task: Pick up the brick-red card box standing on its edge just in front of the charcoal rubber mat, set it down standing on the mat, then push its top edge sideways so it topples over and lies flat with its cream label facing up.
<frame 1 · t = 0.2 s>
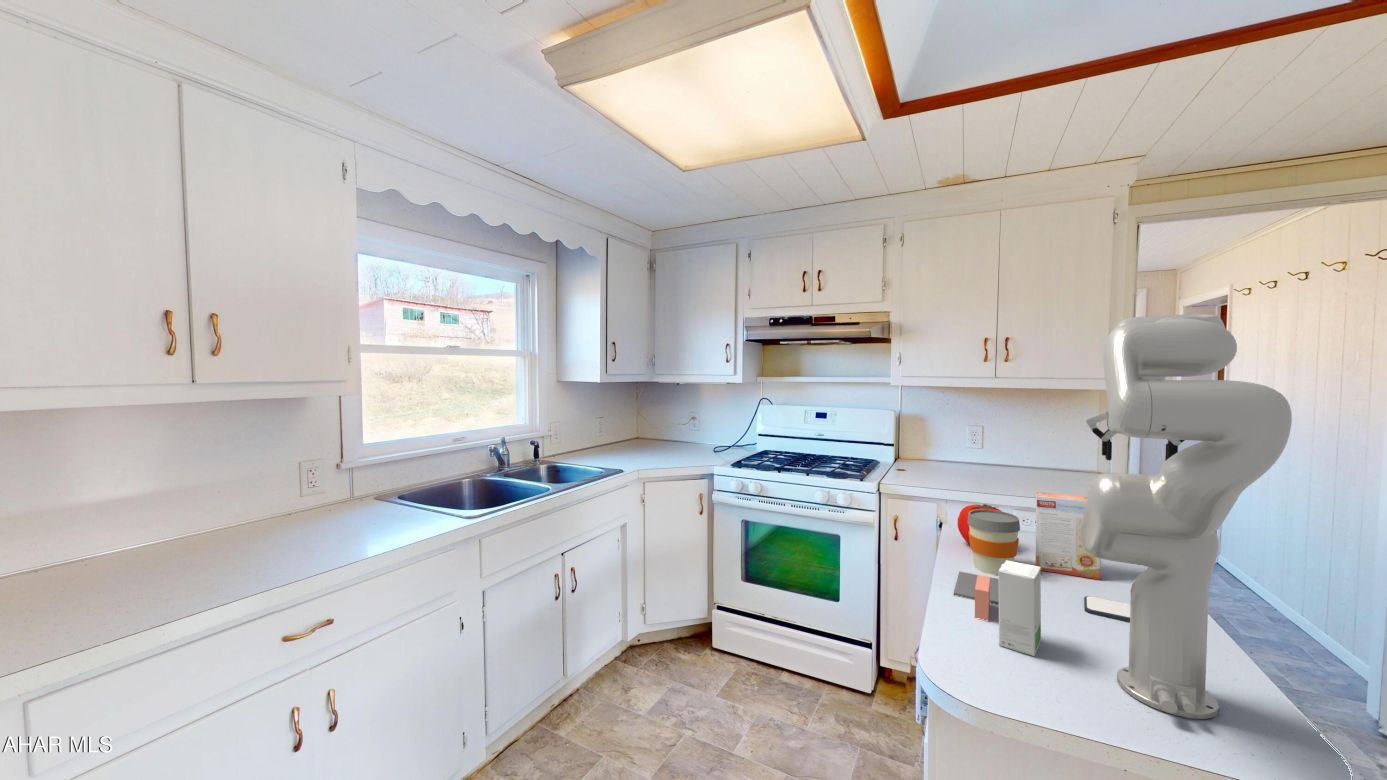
hand: (1138, 461, 104), 36 cm above the table, tool pointing down, fingers open, 9 cm apart
mat: (990, 590, 125), on the table
reusable coffee cup: (992, 569, 138), on the table
cracker box: (1066, 572, 136), on the table
skincare box: (1018, 643, 102), on the table
card box: (982, 611, 115), on the table
tomato: (982, 547, 155), on the table
smartphone: (1129, 617, 112), on the table
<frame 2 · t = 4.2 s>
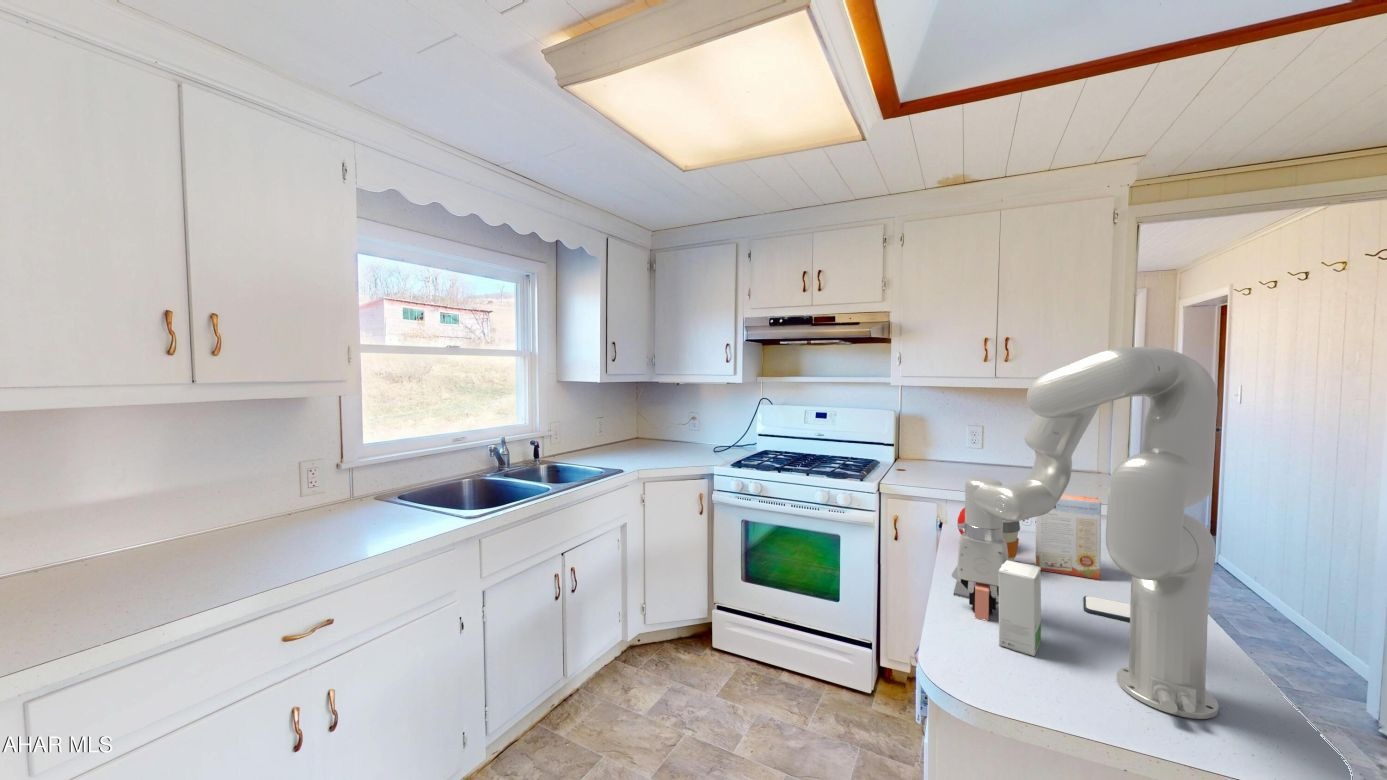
hand: (982, 609, 115), 0 cm above the table, tool pointing down, fingers closed on card box, 2 cm apart
card box: (982, 611, 115), on the table, touching gripper
everything else where it was.
when the fingers open (2 cm above the table, at t = 8.8 s): card box stays where it is, resting on mat.
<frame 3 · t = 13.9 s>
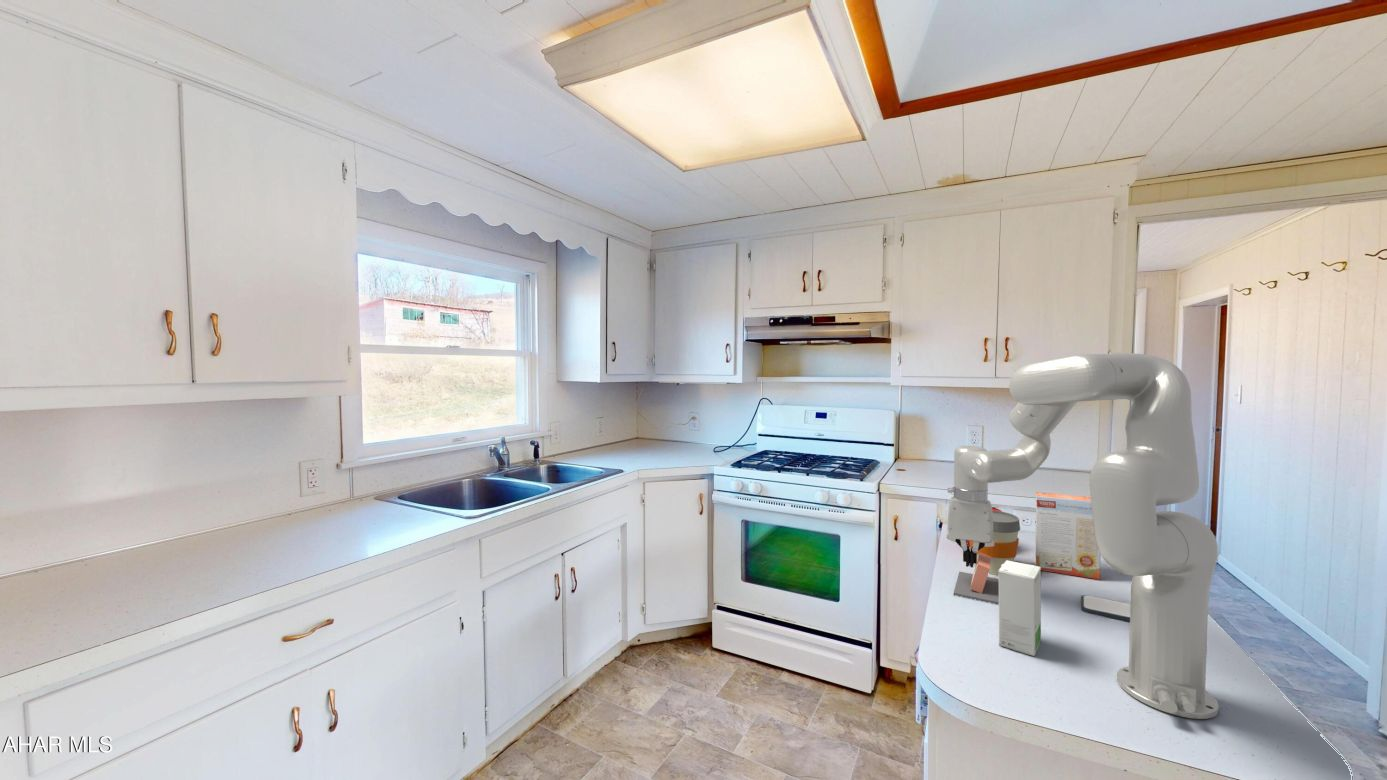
hand: (969, 565, 127), 6 cm above the table, tool pointing down, fingers closed
card box: (977, 584, 126), point 1 cm above the table, tilted 14°, touching mat
everything else where it was.
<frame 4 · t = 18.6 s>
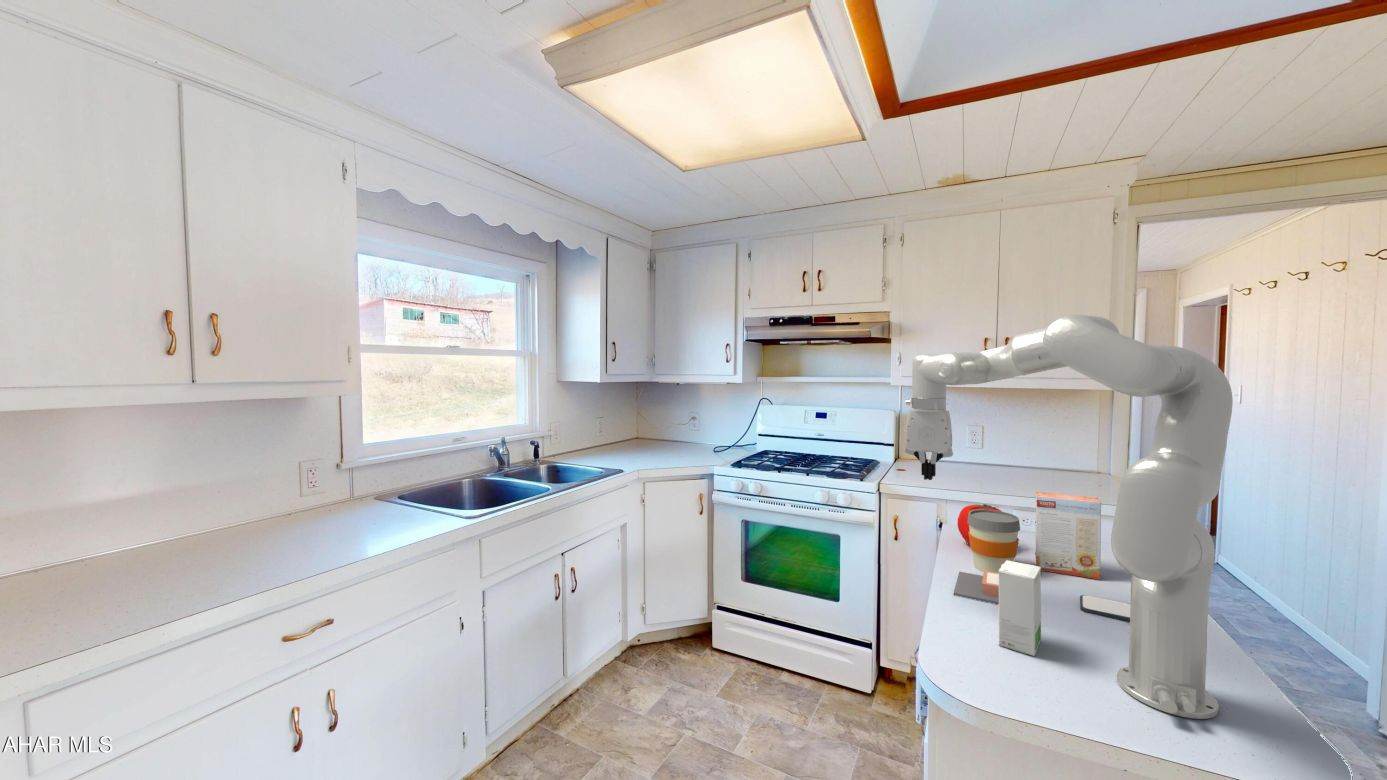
hand: (928, 478, 122), 29 cm above the table, tool pointing down, fingers closed
card box: (982, 581, 126), point 2 cm above the table, tilted 90°, touching mat
everything else where it was.
at the end: card box tilted 90°; card box inside the target area on the mat (1.6 cm from its centre), point 1.9 cm above the mat's base; the gripper is holding nothing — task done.
